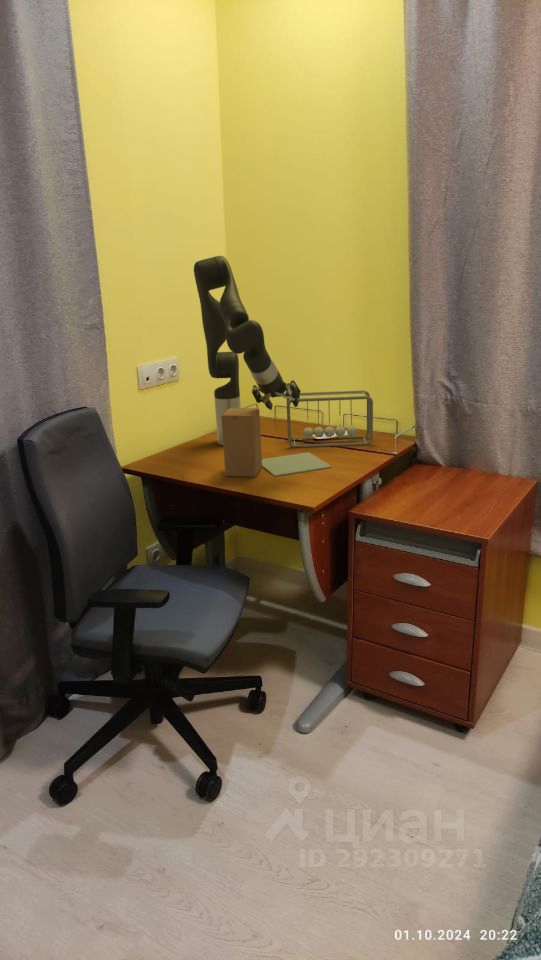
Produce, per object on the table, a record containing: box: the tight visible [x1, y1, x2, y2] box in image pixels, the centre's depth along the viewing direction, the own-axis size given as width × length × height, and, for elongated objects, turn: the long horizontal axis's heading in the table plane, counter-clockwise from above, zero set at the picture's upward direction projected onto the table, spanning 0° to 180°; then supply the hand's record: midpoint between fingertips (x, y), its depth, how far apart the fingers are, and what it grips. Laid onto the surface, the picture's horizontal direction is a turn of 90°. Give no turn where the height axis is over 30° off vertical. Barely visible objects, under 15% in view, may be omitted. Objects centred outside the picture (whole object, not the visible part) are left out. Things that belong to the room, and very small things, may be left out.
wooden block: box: [222, 407, 263, 478], centre depth 224 cm, size 10×10×20 cm
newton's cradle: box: [286, 389, 374, 449], centre depth 253 cm, size 30×10×18 cm, turn 89°
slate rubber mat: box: [262, 451, 332, 477], centre depth 233 cm, size 18×20×1 cm
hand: (283, 406), depth 224 cm, fingers open, 8 cm apart
